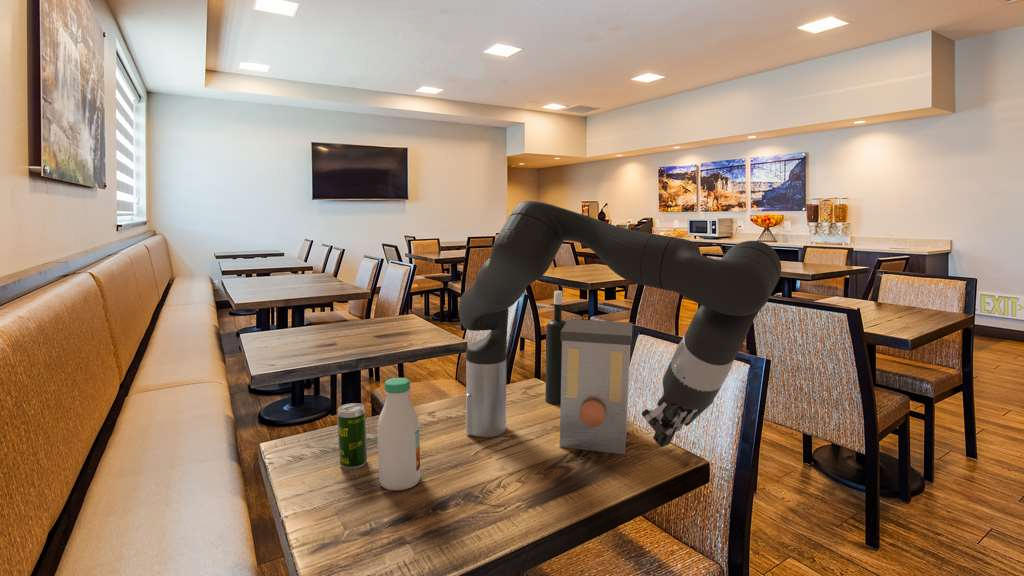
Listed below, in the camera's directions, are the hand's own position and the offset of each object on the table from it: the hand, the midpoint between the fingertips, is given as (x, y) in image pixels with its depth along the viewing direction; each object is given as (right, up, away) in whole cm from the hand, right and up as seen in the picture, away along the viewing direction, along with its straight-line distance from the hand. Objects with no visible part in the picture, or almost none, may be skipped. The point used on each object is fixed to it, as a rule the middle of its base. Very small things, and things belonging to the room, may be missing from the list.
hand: (660, 441), depth 87 cm
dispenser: (-5, -9, +35) cm, 37 cm away
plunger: (-6, -3, +33) cm, 34 cm away
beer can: (-56, -11, +23) cm, 62 cm away
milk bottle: (-45, -12, +16) cm, 50 cm away
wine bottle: (-12, -6, +59) cm, 60 cm away
